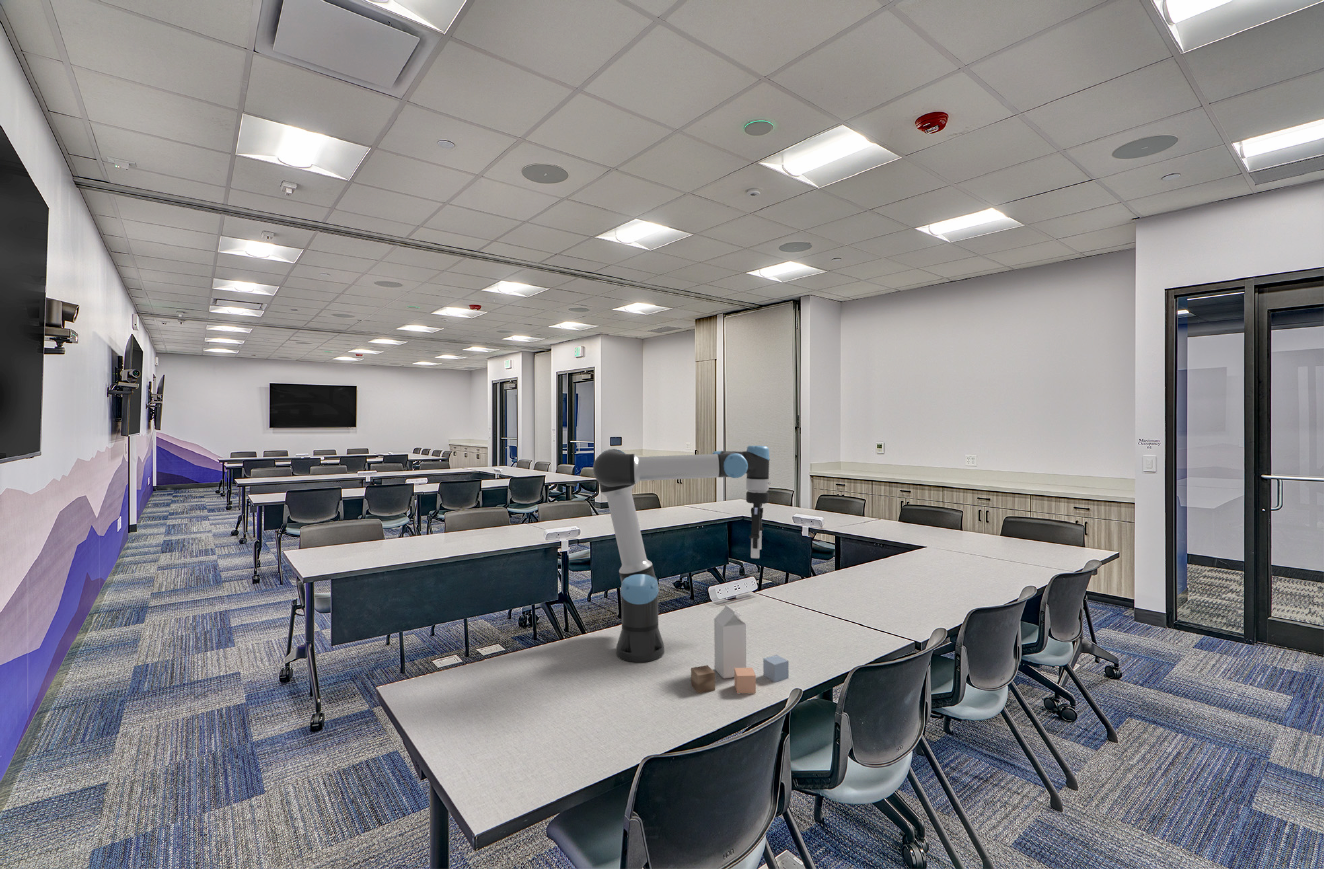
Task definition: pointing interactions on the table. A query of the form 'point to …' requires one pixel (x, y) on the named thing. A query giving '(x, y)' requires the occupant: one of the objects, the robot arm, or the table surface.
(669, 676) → the table surface
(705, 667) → the walnut cube
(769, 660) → the slate cube
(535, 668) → the table surface
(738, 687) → the terracotta cube
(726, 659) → the milk carton
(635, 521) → the robot arm
